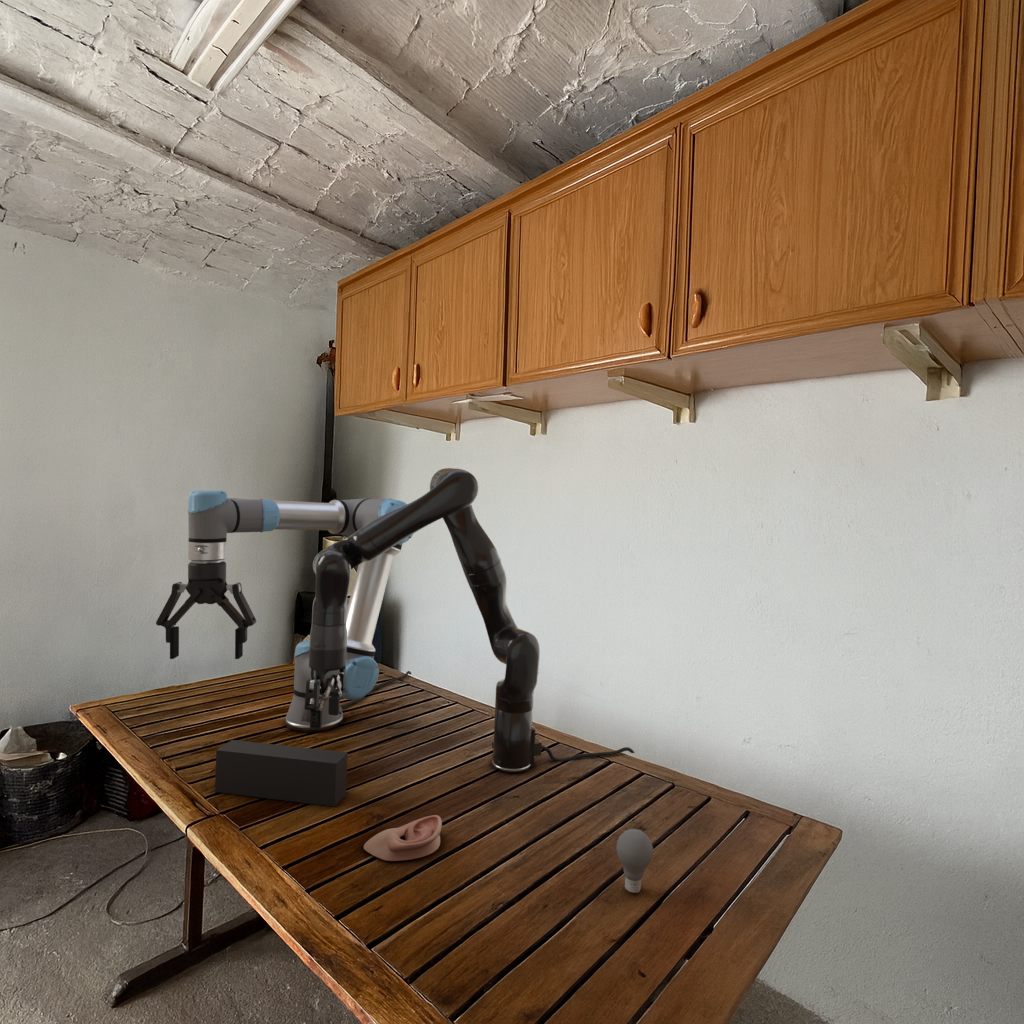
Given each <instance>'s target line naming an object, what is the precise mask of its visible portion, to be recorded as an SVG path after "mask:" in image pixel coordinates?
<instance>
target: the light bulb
mask: <svg viewBox="0 0 1024 1024" xmlns="http://www.w3.org/2000/svg"><path fill="white" fill-rule="evenodd" d="M615 849H616V854H617V857H618V859H619V861H620V863H621V865H622V867H623V873H624V874H623V875H624V876H625V878H624V888H625V890H627V891H628V892H630V893H634V894H635V893H639V892H640V891H641V889H642V887H641V886H642V879H643V877H644V875H645V871H646V868H647V867H648V866H649V864H650V863H651V861H652V859H653V855H654V847H653V843H652V841H651V838H649V836H648V835H647V834H646V833H645V832H643V831H642V830H641V829H636V828H629V829H627V830H625V831H623V832H622V833H621V834H620V835H619V837H618V839H617V841H616V847H615Z"/></svg>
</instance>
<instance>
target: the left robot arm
mask: <svg viewBox="0 0 1024 1024" xmlns="http://www.w3.org/2000/svg"><path fill="white" fill-rule="evenodd" d="M407 504H408V503H406V502H405V501H402V500H400V499H399V500H398V499H395V498H372V497H363V498H354V499H353V498H351V499H332V500H330V501H329V502H316V501H299V500H298V501H295V500H277V499H276V500H275V499H263V498H260V499H256V498H255V499H254V498H238V497H237V498H236V497H228V494H227V492H226V491H224V490H200V489H197V490H192V491H191V492H190V493H189V496H188V504H187V505H188V507H187V515H188V518H187V520H188V540H187V541H188V542H187V546H188V547H187V549H188V550H187V552H188V553H187V559H188V560H189V561H190V562H189V563H188V564H187V579H188V580H187V583H183V582H182V581H178V582H175V583H173V584H172V585H171V593H170V595H169V597H168V599H167V601H166V603H165V605H164V606H163V608H162V610H161V612H160V613H159V616H158V617H157V619H156V621H155V625H156V626H158V627H159V626H161V627H163V628H164V629H165V642H166V643H167V644H169V660H174V659H176V658H177V657H179V656H180V626H176V625H177V624H178V623H179V621H180V620H181V619H182V618H184V616H185V615H186V613H187V612H188V611H189V610H191V608H192V607H193V606H194V604H197V605H203V604H204V605H205V604H206V605H214V604H217V606H219V607H221V609H222V610H223V611H224V612H225V613H226V615H228V617H229V618H230V619H231V621H232V622H234V624H235V625H236V626H237V628H235V630H234V660H240V659H241V658H242V657H243V656H244V655H243V654H244V653H243V652H244V644H245V643H246V642H247V641H248V628H249V627H252V626H253V625H255V624H257V619H256V617H255V615H254V613H253V611H252V608H251V607H250V605H249V603H248V601H247V599H246V596H245V595H244V593H243V587H242V586H243V585H242V583H241V582H239V581H238V582H235V583H231V584H230V583H229V584H228V583H227V562H226V561H224V560H226V559H227V541H228V540H227V539H228V538H227V537H228V536H227V535H228V534H233V533H264V532H272V531H274V530H286V531H287V530H288V531H291V530H293V531H328V532H329V533H330V534H333V535H345V536H351V535H352V534H354V533H355V532H356V531H358V530H359V529H361V528H362V527H364V526H366V525H367V524H369V523H370V522H372V521H374V520H375V519H377V518H379V517H381V516H383V515H385V514H387V513H389V512H391V511H394V510H396V509H398V508H401V507H403V506H405V505H407ZM413 536H414V534H412V535H410V536H409V537H407V538H406V539H404V540H403V541H401V542H399V543H398V544H396V545H395V546H393V547H392V548H390V549H389V550H387V551H386V552H384V553H382V554H381V555H379V556H378V557H376V558H374V559H372V560H370V561H365V562H363V563H361V564H359V565H358V566H357V569H356V573H355V577H354V581H353V584H352V589H351V593H350V595H349V599H348V602H347V622H346V626H347V651H346V688H345V692H342V696H341V697H340V699H345V700H347V701H349V702H347V703H344V704H340V708H339V714H338V715H336V716H335V715H329V713H328V710H329V697H331V696H328V699H327V700H326V701H325V702H324V705H323V708H322V726H321V728H319V729H312V728H310V713H311V711H310V710H305V694H306V682H307V680H308V679H310V680H314V677H315V670H314V669H311V668H310V667H309V647H310V640H308V641H304V642H303V641H300V642H299V643H297V644H296V646H295V650H294V655H293V657H294V672H293V673H294V674H293V695H292V696H293V697H292V699H291V702H290V704H289V708H288V711H287V713H286V715H285V726H286V728H287V729H289V730H291V731H294V732H295V731H296V732H301V733H316V732H325V731H329V730H332V729H335V728H337V727H339V726H340V725H342V723H343V722H344V713H343V709H344V708H346V707H349V706H351V705H353V704H355V703H357V702H359V701H360V700H362V699H364V697H366V696H367V695H368V694H370V693H372V692H373V691H374V690H377V689H378V688H381V687H383V686H385V685H388V684H391V683H393V682H396V681H400V680H402V679H404V678H406V677H408V675H412V672H411V671H410V670H407V671H406V672H405V674H402V675H401V676H398V677H395V678H392V679H389V680H386V681H385V682H382V683H380V684H377V682H378V679H379V676H380V675H379V674H380V670H379V669H380V668H379V666H378V663H377V662H376V660H375V655H376V648H375V646H374V645H373V639H374V635H375V632H376V628H377V624H378V619H379V614H380V612H381V608H382V604H383V599H384V597H385V591H386V589H387V585H388V584H387V583H388V581H389V580H388V579H389V576H390V572H391V569H392V564H393V560H394V557H395V556H396V555H398V554H400V553H401V552H402V547H403V545H404V544H405V543H406V542H408V541H409V540H410V539H412V538H413ZM185 590H186V592H187V593H188V595H189V597H188V598H187V599H186V600H185V601H184V602H183V604H182V605H181V606H180V607H179V608H178V610H176V612H175V613H174V614H173V615H172V616H171V614H172V612H173V610H174V609H175V607H176V605H177V603H178V602H179V600H180V597H181V596H182V593H185ZM227 591H229V593H230V594H232V596H233V599H234V601H235V602H236V604H237V606H238V608H239V611H240V612H241V613H240V612H239V611H238V609H237V608H236V607H235V606H234V605H233V604H232V603H231V601H230V599H229V598H228V597H227V596H226V593H227ZM170 616H171V617H170ZM340 682H341V681H340ZM376 684H377V685H376ZM321 695H323V694H321ZM310 701H311V698H310ZM319 702H320V700H319ZM342 708H343V709H342Z"/></svg>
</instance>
